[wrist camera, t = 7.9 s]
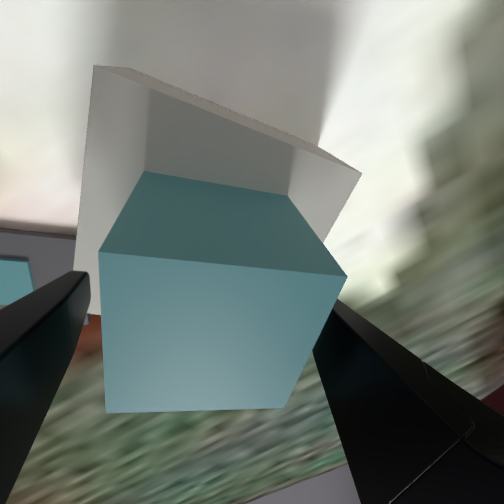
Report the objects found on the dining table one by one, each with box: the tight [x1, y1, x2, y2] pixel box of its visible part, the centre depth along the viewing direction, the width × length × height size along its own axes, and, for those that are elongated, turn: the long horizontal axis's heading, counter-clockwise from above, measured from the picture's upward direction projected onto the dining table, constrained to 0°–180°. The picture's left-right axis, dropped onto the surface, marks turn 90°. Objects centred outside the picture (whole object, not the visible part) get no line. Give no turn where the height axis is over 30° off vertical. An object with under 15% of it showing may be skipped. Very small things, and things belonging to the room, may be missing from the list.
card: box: [0, 228, 90, 325], centre depth 15 cm, size 8×6×1 cm
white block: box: [73, 65, 362, 315], centre depth 13 cm, size 9×9×5 cm
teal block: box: [98, 171, 347, 413], centre depth 9 cm, size 5×5×5 cm
